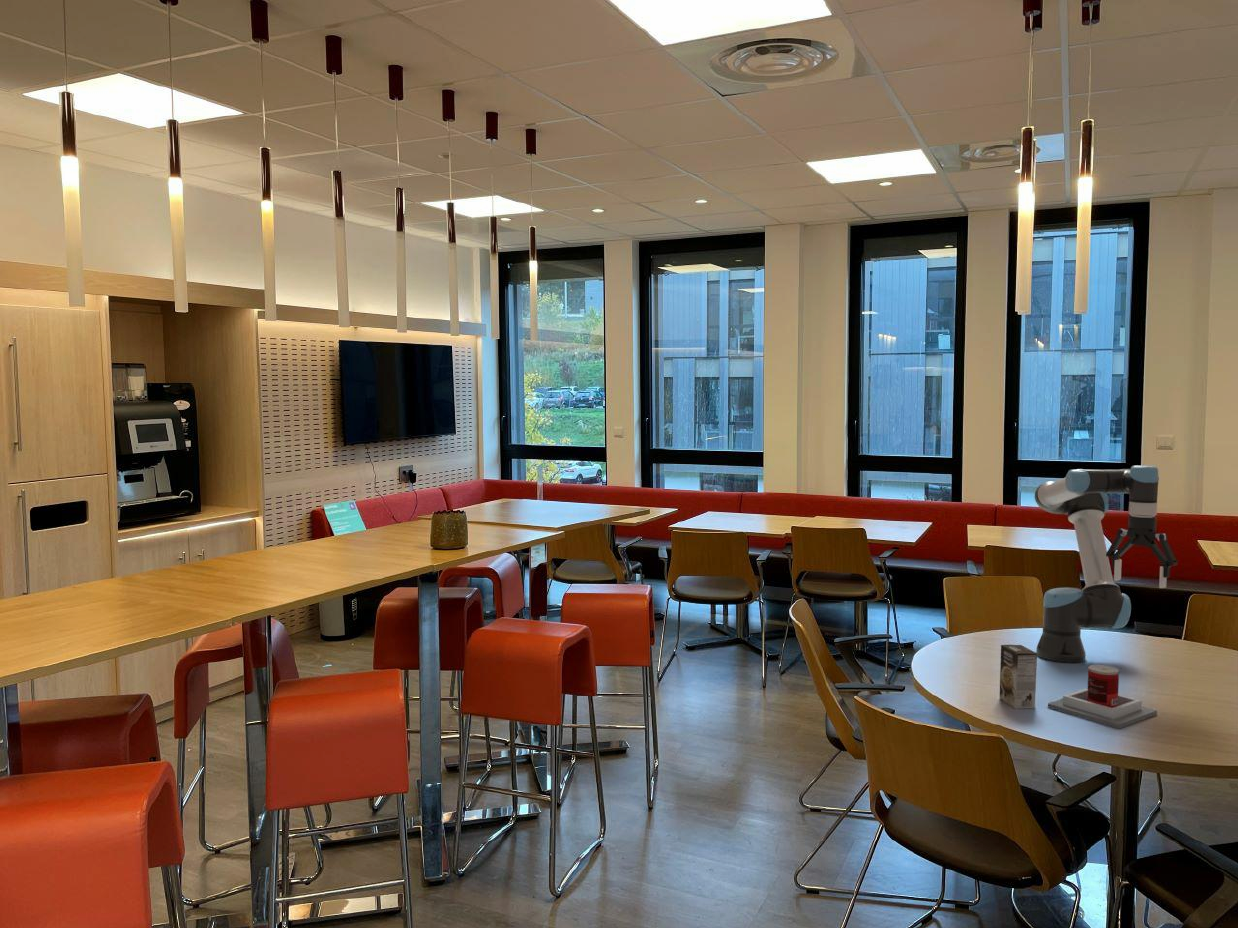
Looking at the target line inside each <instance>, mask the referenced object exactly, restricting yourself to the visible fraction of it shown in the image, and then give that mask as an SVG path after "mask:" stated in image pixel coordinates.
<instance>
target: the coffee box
mask: <svg viewBox="0 0 1238 928" xmlns="http://www.w3.org/2000/svg"><path fill="white" fill-rule="evenodd" d="M1037 666H1038V656H1037V653H1036V651H1034V650H1031V649H1030V648H1027V647H1026V646H1024V645H1022V644H1001V645H1000V671H999V699H1000V700H1001V699H1002V701H1003V702H1004V701H1005V702H1004V703H1006V704H1007V703H1008V705H1009V706H1010V705H1011V708H1013V707H1014V708H1013V709H1035V708H1036V689H1037V688H1036V685H1037V670H1038V669H1037V668H1038V667H1037Z"/></svg>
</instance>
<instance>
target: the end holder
mask: <svg viewBox="0 0 1238 928" xmlns="http://www.w3.org/2000/svg"><path fill="white" fill-rule="evenodd" d="M1087 690H1088V687H1087V688H1084V689H1080V690H1076V691H1074V692H1070V693H1066V694H1064V695H1062V698H1060V699H1058V700H1054V701H1050V702H1048V703H1047V708H1048V709H1051V708H1053V709H1052V710H1054V709H1056V710H1055V711H1058V710H1060V711H1059V712H1061V711H1063V712H1062V713H1064V712H1066V713H1065V714H1068V713H1069V715H1071V714H1072V715H1071V716H1074V715H1076V717H1078V716H1079V717H1078V718H1081V717H1082V718H1081V719H1084V718H1086V719H1085V720H1088V721H1091V722H1094V723H1099V724H1101V725H1105V726H1109V727H1110V728H1115V729H1118V730H1119V729H1121V728H1124V727H1127V726H1131V725H1133V724H1135V723H1138V722H1141V721H1143V720H1146V719H1149V718H1152V717H1154V716H1157V715H1158V710H1157V709H1154V708H1149V707H1146V706H1143V705H1142V703H1143V702H1142V701H1143V700H1141V699H1137V698H1134V697H1130V696H1126V695H1122V694H1119V693H1118V706H1117V707H1114V708H1110V707H1106V706H1103V705H1099V704H1096V703H1092V702H1089V701H1087Z"/></svg>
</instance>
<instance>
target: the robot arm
mask: <svg viewBox="0 0 1238 928" xmlns="http://www.w3.org/2000/svg"><path fill="white" fill-rule="evenodd" d="M1159 481H1160V476H1159V468H1158V467H1157V466H1154V465H1145V464H1144V465H1143V464H1142V465H1132V466H1131V467H1130V468H1122V469H1083V468H1077V469H1069V470H1068V472H1067V473H1066V475H1065V477H1064V478H1061V479H1058V480H1056V481H1050V480H1049V481H1046V482H1043V483H1041V484H1040V485H1038V487H1036V488H1035V491H1034V501H1035V503H1036V504H1037V506H1038V507H1039V508H1040V509H1041V510H1043V511H1045V512H1048V513H1050V514H1055V515H1056V514H1057V515H1058V514H1059V515H1067V519H1068V522H1070V523H1071V524H1073V526H1074V531H1075V536H1076V542H1077V547H1078V551H1079V557H1080V563H1081V567H1082V574H1083V578H1084V583H1085V586H1084V587H1083V588H1082V589H1081V588H1077V587H1056V588H1050V589H1048V590H1047V591H1045V593H1044V596H1043V602H1042V606H1043V607H1042V615H1043V616H1042V633H1041V635H1040V639H1039V640H1038V643H1037V646H1036V647H1035V648H1036V649H1035V653H1037V657H1039V658H1041V659H1044V660H1047V661H1051V662H1057V663H1066V664H1069V663H1070V664H1072V663H1073V664H1076V663H1077V664H1078V663H1082V662H1085V661H1086V654H1087V653H1086V650H1085V648H1084V644H1083V641H1082V638H1081V630H1082V628H1085V629H1109V630H1112V629H1121V628H1124V627H1125V626H1126V625H1127V624H1128V623H1129V621H1130V617H1131V613H1132V612H1131V611H1132V603H1131V599H1130V597H1129V595H1127V594H1126V593H1123V592H1121V588H1120V586H1119V585H1118V584H1116V583H1114V582H1115V581H1116V582H1117V581H1121V580H1122V567H1123V565H1122V564H1123V563H1122V562H1123V560H1122V559H1121V557H1122V556H1123V555H1124V554H1125V553H1127V551H1128V550H1129V549H1130V548H1131V547H1132V546H1135V547H1136V546H1140V547H1148V549H1150V550H1151V552H1152V553H1153V555H1154V556H1155V557H1156V559H1157V560H1158V561H1159V562H1160V563H1161V565H1162V566H1159V580H1158V581H1159V582H1158V583H1159V584H1158V587H1159V589H1165V588H1167V579H1168V578H1170V575H1171V567H1173V566H1177V565H1178V561H1177V559H1176V557H1175V555H1174V552H1173V550H1172V547H1171V546H1170V543H1169V541H1168V535H1167V533H1157V531H1156V530H1157V517H1156V516H1157V515H1158V513H1157V511H1158V494H1159V492H1158V491H1159V489H1158V488H1159ZM1108 494H1129V499H1128V514H1129V515H1128V518H1127V519H1128V521H1127V527H1128V529H1125V528H1118V529H1117V531H1116V536H1115V537H1114V539H1113V541H1112V543H1111V545H1110V546H1109V548H1108V549H1107V544H1106V539H1105V536H1104V531H1103V530H1104V529H1103V525H1102V522H1101V521H1102V520H1103V519H1104V517H1105V514H1106V513H1107V512H1108V510H1109V495H1108ZM1126 536H1127V537H1128V539H1127V540H1126V541H1125V543H1124V544H1123V545H1122V546H1120V544H1121V543H1122V542H1123V540H1124V538H1125V537H1126ZM1156 539H1157V541H1159V544H1160V547H1161V549H1162V550H1161V549H1160V547H1159V546H1158V543H1156V541H1155V540H1156ZM1119 547H1120V548H1119ZM1118 548H1119V549H1118ZM1162 551H1163V552H1162ZM1109 558H1110V559H1111V564H1110V559H1109ZM1111 569H1112V570H1114V571H1113V573H1114V574H1112V570H1111Z"/></svg>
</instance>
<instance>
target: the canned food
mask: <svg viewBox="0 0 1238 928" xmlns="http://www.w3.org/2000/svg"><path fill="white" fill-rule="evenodd" d="M1087 669H1088V671H1087V688H1088V690H1087V701H1089V702H1092V703H1096V704H1099V705H1103V706H1106V707H1110V708H1114V707H1117V706H1118V694H1119V681H1120V670H1119V669H1118V668H1117V667H1114V666H1110V665H1105V664H1090V665H1089V666H1088V668H1087Z"/></svg>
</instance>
